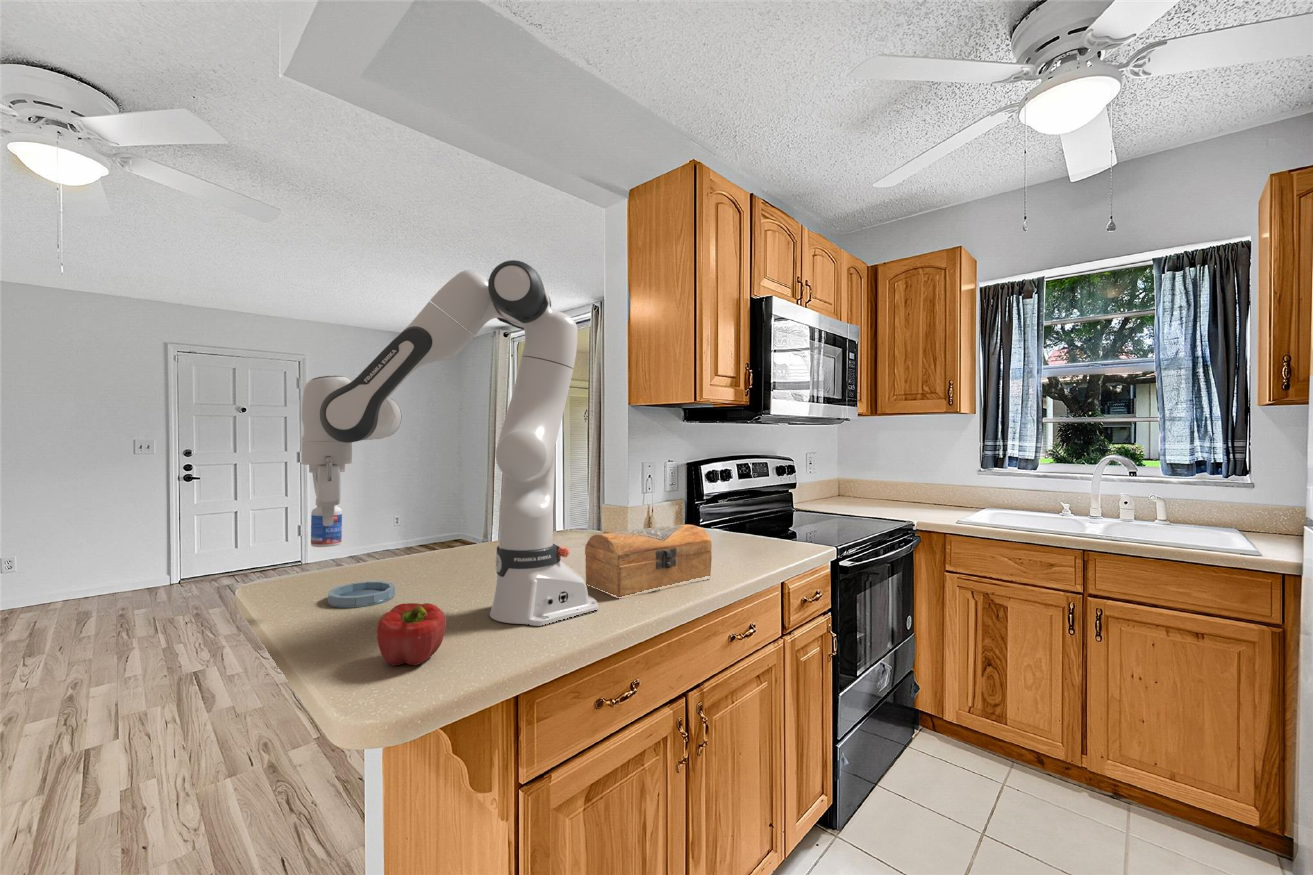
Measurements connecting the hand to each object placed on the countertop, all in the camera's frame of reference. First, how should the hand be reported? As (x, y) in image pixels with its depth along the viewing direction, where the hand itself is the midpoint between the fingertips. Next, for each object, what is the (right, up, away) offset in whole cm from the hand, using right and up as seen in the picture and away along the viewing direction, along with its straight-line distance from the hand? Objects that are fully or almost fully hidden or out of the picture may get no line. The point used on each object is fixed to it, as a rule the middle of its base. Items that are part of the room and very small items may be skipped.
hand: (327, 523), depth 111 cm
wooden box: (+66, -20, +27) cm, 74 cm away
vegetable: (+28, -20, -22) cm, 40 cm away
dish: (+1, -19, +11) cm, 22 cm away
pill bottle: (0, -5, 0) cm, 5 cm away
